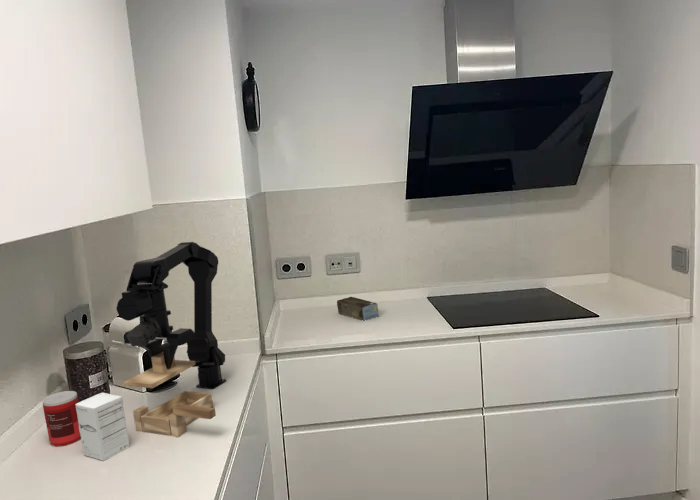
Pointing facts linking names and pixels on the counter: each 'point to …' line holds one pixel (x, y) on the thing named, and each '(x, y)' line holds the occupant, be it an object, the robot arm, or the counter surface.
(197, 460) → the counter surface
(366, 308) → the beverage carton
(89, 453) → the supplement box
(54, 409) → the canned food
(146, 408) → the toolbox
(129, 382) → the lid
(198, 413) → the brown wooden bar
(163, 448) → the counter surface
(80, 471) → the counter surface
